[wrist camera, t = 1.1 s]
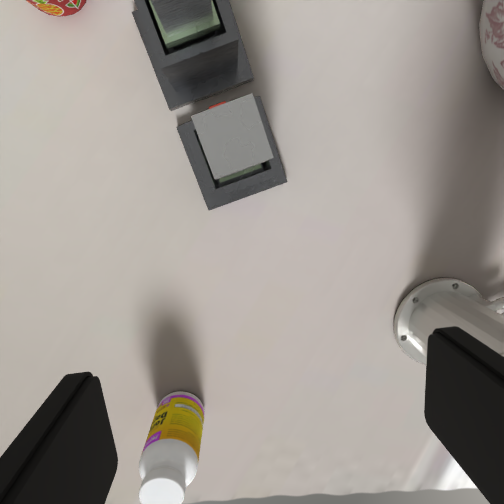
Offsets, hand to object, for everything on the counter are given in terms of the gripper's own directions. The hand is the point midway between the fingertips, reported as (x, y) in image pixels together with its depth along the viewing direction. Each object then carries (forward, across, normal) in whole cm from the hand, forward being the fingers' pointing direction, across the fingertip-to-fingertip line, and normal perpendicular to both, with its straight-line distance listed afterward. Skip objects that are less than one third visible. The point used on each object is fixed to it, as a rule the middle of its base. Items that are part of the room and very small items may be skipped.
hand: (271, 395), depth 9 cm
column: (+32, 0, -8) cm, 33 cm away
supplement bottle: (+33, +10, +26) cm, 43 cm away
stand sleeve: (+33, 0, -8) cm, 34 cm away
